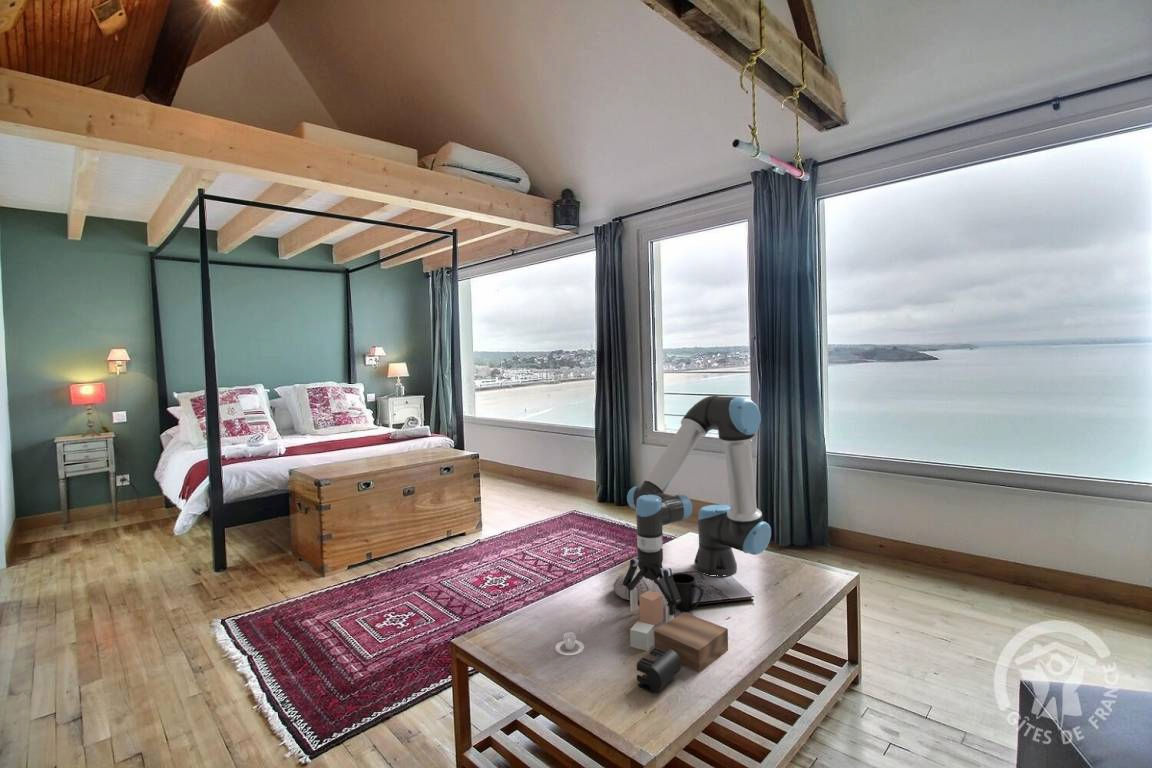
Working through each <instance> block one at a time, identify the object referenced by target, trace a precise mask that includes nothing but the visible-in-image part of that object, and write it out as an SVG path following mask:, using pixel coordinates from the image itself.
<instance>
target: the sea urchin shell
mask: <svg viewBox="0 0 1152 768" xmlns="http://www.w3.org/2000/svg"><path fill="white" fill-rule="evenodd" d="M639 571H640V569H639V570H638V569H636V571H635V574H634V576H633V578H632V580H633V579H634V578H635V577H636V576H637V574H638V572H639ZM627 572H628V570H625V571H624V572H622V573H621V574H619V575H618V576H617V578H615V580H614V583H613V585H612V587H613V591H614V592H615V594H616V595H617V596H618V597H619V598H621V599H623V600H627V601H630V599H629V594H628V588H627V587H626V586H624V585H623V581H624V579H625V577H626V574H627ZM631 582H632V581H631ZM634 588H637V592H638V602H639V595H641V594H643V593H645V592H647V591H649V590H651V591H654V590H655V589H654V588H655V586H654V584H653V581H652V580H650V579H646V578H645V577H643V578H642V579H641V580H640V582H639V583H638V584H637V585H636V587H634Z"/></svg>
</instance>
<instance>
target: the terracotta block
mask: <svg viewBox="0 0 1152 768" xmlns="http://www.w3.org/2000/svg"><path fill="white" fill-rule="evenodd" d="M638 605H639V622H643V623H647V624H651V625H654V627H655V626H657V625H659V624H660V623H662V622H664V595H663V594H662V593H658V592H656V591H654V590H653V591H651V590H649V591H647V592H645V593H643V594H641V595H639V601H638Z"/></svg>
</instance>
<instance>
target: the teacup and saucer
mask: <svg viewBox="0 0 1152 768" xmlns="http://www.w3.org/2000/svg"><path fill="white" fill-rule="evenodd" d="M563 634H564V635H563V638H562V640H561V641H559V642H558V643H557V644H555V648H554V649H555V651H556V652H557V654H559V655H561V656H575V655H578V654H580V653H582V652H583V650H584V649H585V645H584V643H583V642H582V641H580V640H577V636H576V633H575V632H572V631H568V632H567V631H566V632H565V633H563ZM563 645H564V646H565V649H566V650H568V651H572V650H574V649H575V646H576V645H577V646H578V649H577V650H576V651H574V652H564V651H563V650H561V647H562V646H563Z"/></svg>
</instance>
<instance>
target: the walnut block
mask: <svg viewBox="0 0 1152 768" xmlns="http://www.w3.org/2000/svg"><path fill="white" fill-rule="evenodd" d="M728 629H729V628H727V627H724V626H721V625H718V624H717V623H714V622H711V621H709V620H706V619H703V618H701V617H698V616H696V615H693V614H690V613H687V612H686V611H685V612H684V611H682V613H680V614H678V615H677V616H676V617H674V619H672V620H671V621H669V622H668V623H666V622H665V624H663V625H661V626H660V627H658V628H657V629H654V648H658V649H661V650H663V651H666V652H667V651H668V650H669V649H672V650H673V651H675V652H676V653H677V654H678V656H679V658H680V660H681V666H684V667H685V668H688V669H690V670H692V671H694V672H696V673H701V672H703V671H704V670H705V669H707V667H709V666H710V665H711V664H712V663H714V662H715V661H716V660H718V659H719V658H720V657H721V656H722V655H724V654H726V653H727V652H728V651H729V635H728V634H729V633H728V632H729V630H728Z"/></svg>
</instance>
